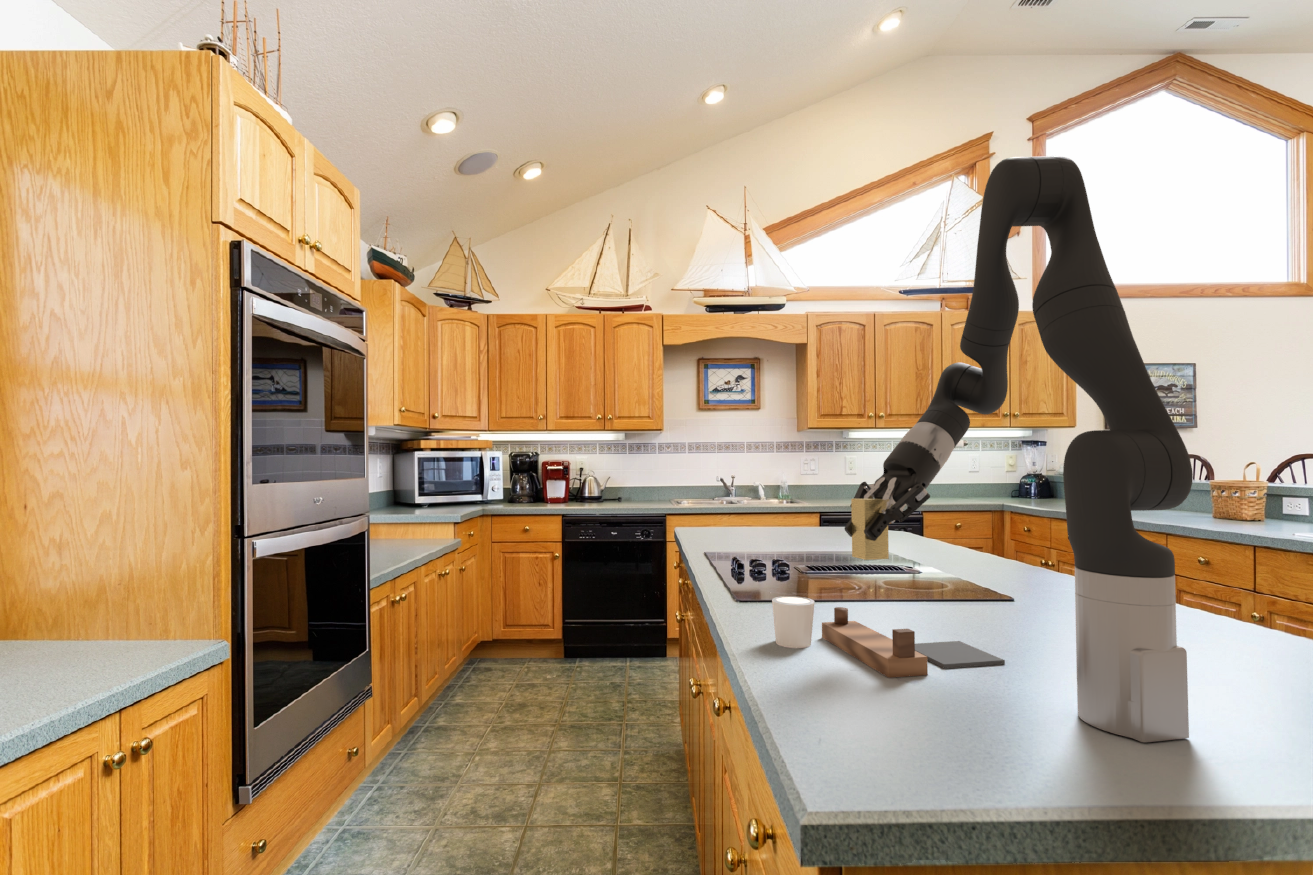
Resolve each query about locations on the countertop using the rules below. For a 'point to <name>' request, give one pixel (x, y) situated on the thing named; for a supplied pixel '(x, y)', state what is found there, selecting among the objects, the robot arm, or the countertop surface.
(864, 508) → the pale wooden block
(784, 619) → the white cup
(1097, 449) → the robot arm
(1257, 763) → the countertop surface
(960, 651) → the mat
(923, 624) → the countertop surface
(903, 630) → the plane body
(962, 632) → the countertop surface
